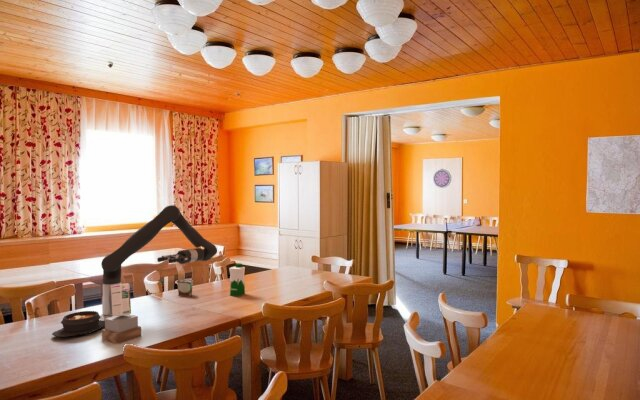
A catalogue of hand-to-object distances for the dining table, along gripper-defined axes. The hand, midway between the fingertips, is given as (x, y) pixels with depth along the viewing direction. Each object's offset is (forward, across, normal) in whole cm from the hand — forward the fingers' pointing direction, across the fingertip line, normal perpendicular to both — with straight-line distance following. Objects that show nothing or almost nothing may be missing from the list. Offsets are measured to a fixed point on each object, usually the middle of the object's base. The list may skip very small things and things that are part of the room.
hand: (163, 260), depth 220 cm
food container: (-46, -33, +32) cm, 65 cm away
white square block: (+27, +3, +28) cm, 39 cm away
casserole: (+31, -22, +32) cm, 50 cm away
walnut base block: (+27, +3, +32) cm, 42 cm away
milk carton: (-62, -4, +32) cm, 70 cm away
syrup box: (+27, +3, +22) cm, 35 cm away
